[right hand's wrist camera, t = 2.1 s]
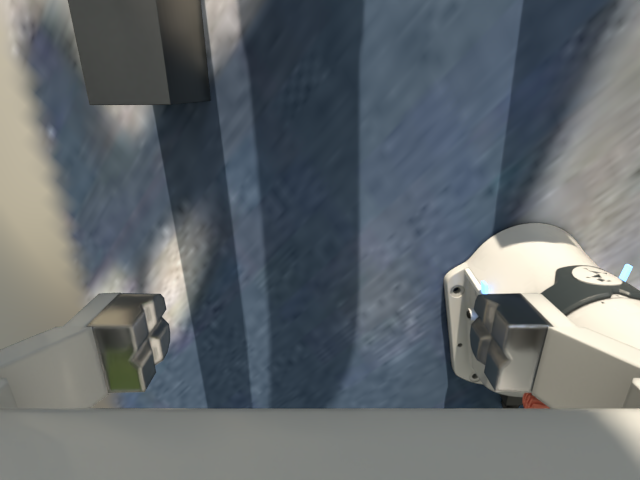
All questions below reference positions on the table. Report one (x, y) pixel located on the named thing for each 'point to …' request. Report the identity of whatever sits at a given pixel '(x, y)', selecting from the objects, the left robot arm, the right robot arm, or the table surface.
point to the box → (141, 51)
